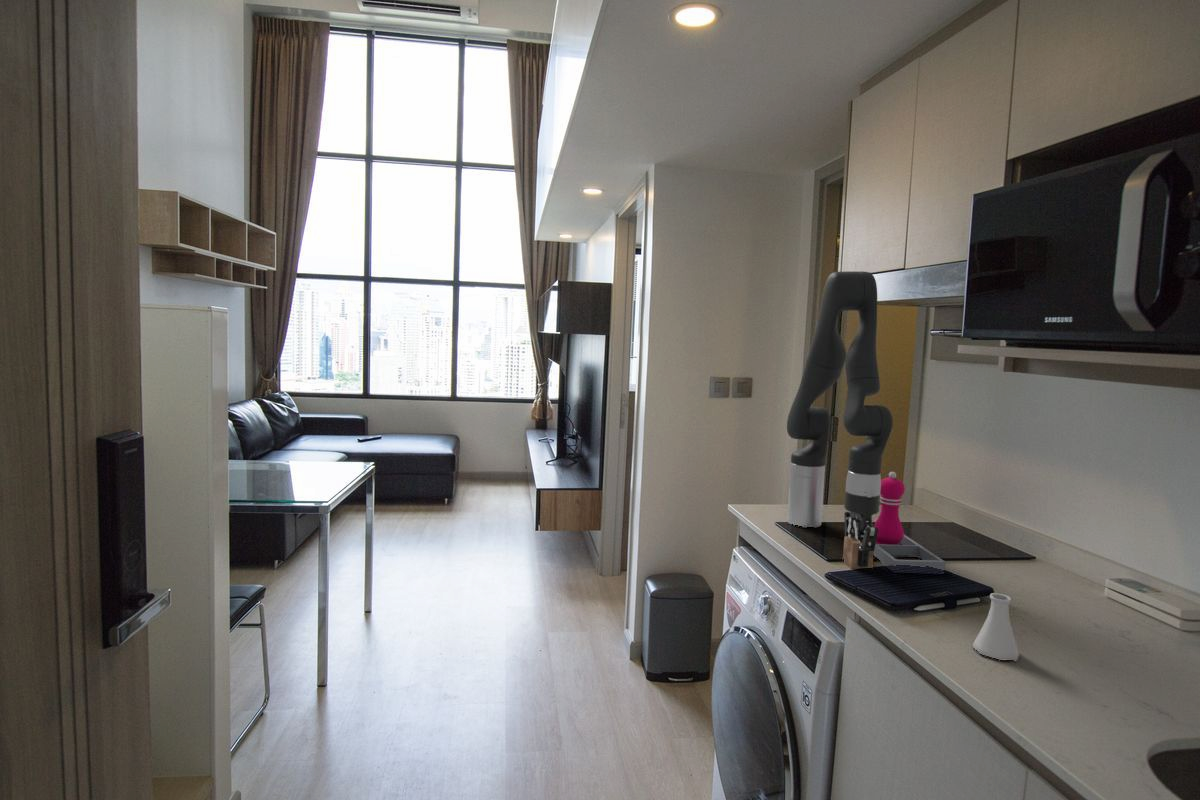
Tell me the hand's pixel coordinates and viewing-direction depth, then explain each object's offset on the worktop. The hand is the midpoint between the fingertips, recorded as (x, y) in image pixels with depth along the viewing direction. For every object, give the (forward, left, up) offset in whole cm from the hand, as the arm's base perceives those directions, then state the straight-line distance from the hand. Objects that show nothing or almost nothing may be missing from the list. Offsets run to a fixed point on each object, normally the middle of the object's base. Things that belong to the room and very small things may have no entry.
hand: (857, 561), depth 157 cm
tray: (-6, +12, -1) cm, 14 cm away
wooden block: (0, 0, -1) cm, 1 cm away
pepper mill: (-11, +12, -1) cm, 17 cm away
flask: (+42, +7, -1) cm, 43 cm away
